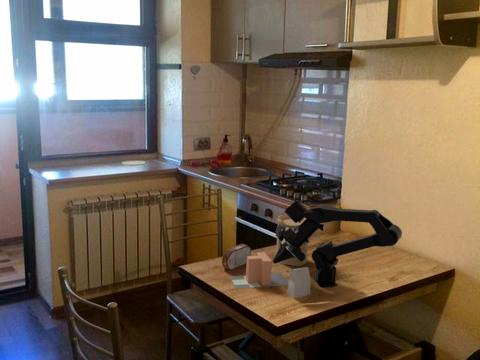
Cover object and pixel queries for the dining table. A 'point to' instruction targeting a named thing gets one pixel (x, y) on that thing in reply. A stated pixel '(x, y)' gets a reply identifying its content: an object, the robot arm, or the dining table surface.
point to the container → (288, 222)
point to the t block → (259, 269)
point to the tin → (236, 256)
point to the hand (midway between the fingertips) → (273, 262)
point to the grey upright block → (299, 282)
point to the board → (242, 283)
